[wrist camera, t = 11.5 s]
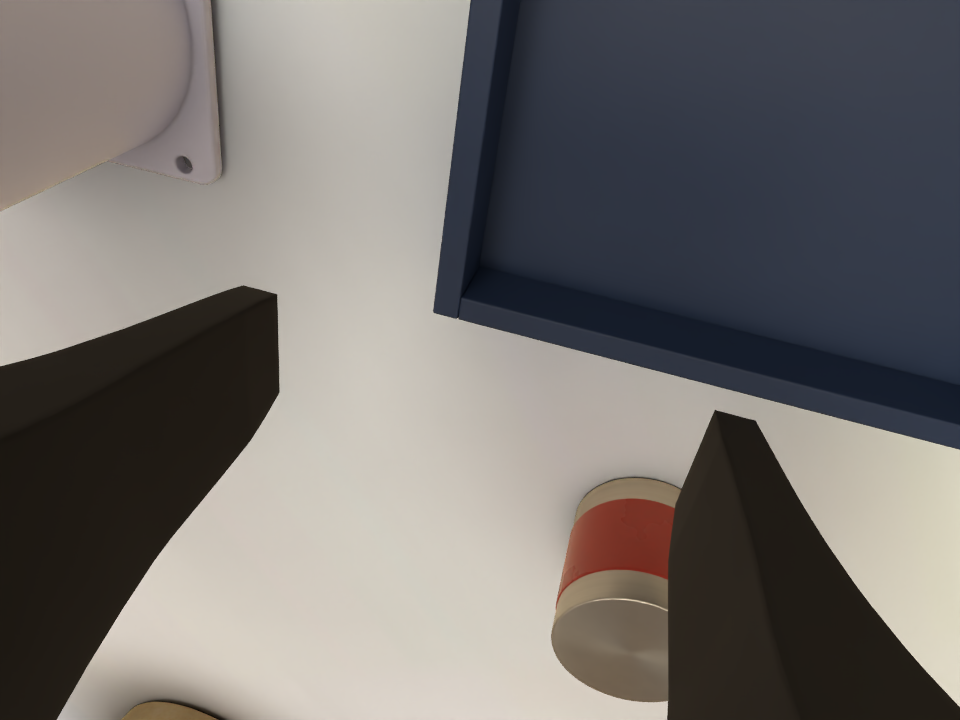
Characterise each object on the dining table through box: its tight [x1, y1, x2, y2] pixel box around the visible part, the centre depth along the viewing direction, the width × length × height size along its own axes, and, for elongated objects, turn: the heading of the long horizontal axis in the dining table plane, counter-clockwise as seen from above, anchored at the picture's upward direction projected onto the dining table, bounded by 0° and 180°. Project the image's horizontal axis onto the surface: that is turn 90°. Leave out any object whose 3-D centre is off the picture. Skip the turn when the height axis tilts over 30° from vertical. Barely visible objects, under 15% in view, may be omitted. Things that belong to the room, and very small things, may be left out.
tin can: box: [551, 478, 681, 702], centre depth 23 cm, size 5×5×5 cm
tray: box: [433, 0, 960, 449], centre depth 16 cm, size 15×14×2 cm
